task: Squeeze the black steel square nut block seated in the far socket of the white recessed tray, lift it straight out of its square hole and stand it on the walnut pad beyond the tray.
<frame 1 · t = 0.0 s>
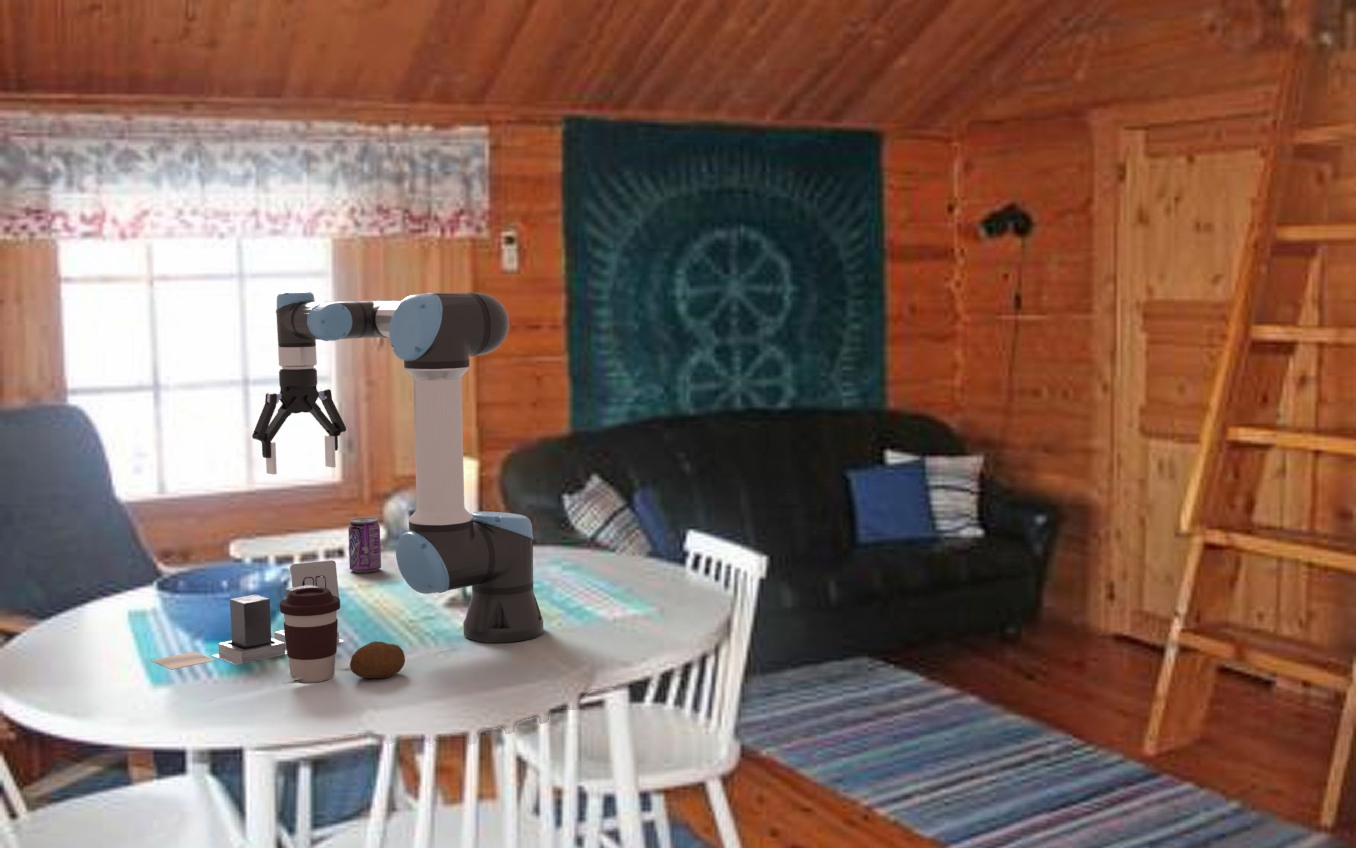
hand: (301, 470, 294), 28 cm above the table, fingers open, 13 cm apart
nut block: (252, 654, 254), point 1 cm above the table, touching white recessed tray
walnut pad: (183, 666, 250), on the table
electrical switch: (313, 606, 295), on the table
white recessed tray: (280, 653, 258), on the table
beverage can: (365, 571, 329), on the table
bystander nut: (306, 642, 262), point 1 cm above the table, touching white recessed tray
coffee cup: (312, 678, 243), on the table
potato: (379, 678, 243), on the table
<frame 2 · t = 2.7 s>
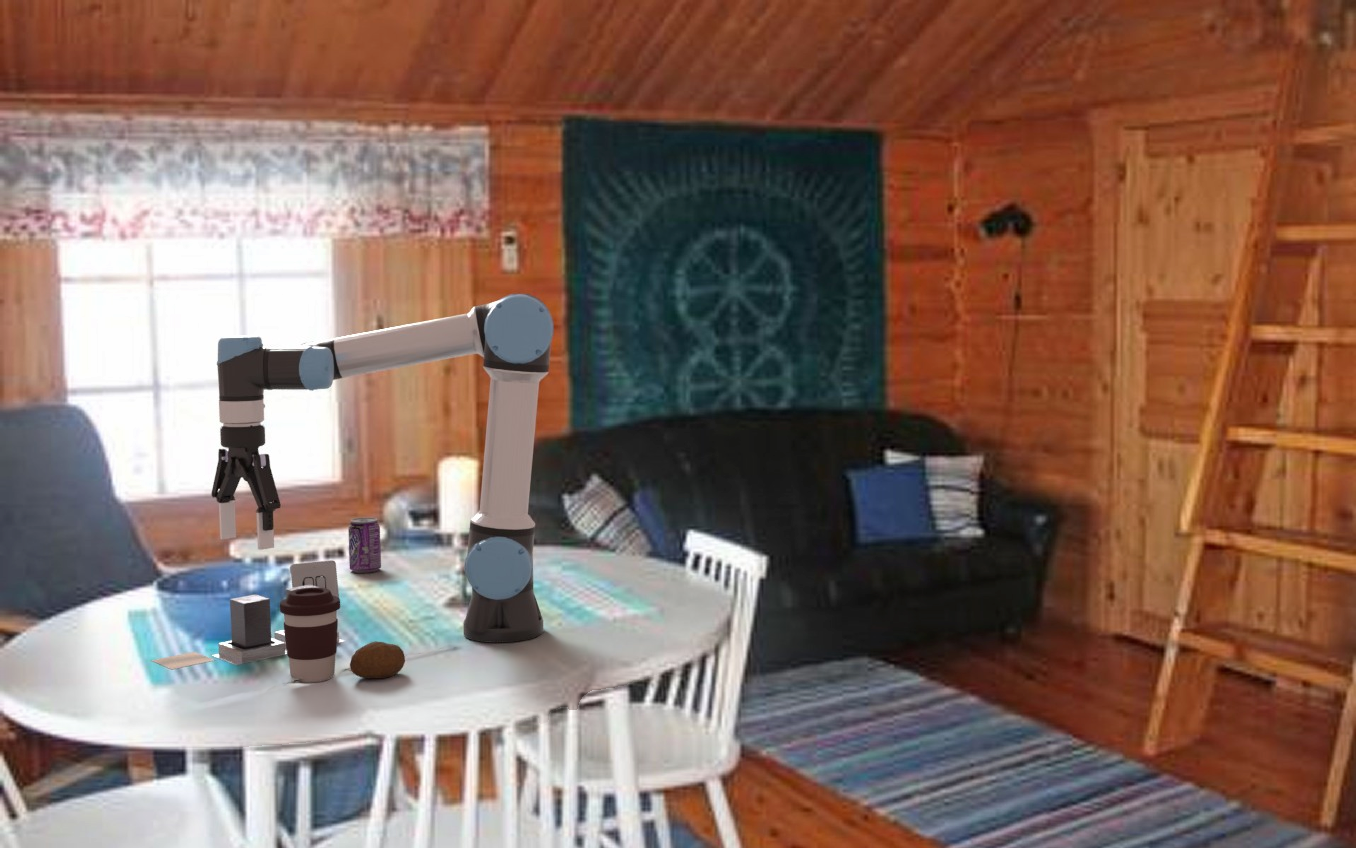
hand: (246, 543, 252), 21 cm above the table, fingers open, 13 cm apart
nothing on the table moved.
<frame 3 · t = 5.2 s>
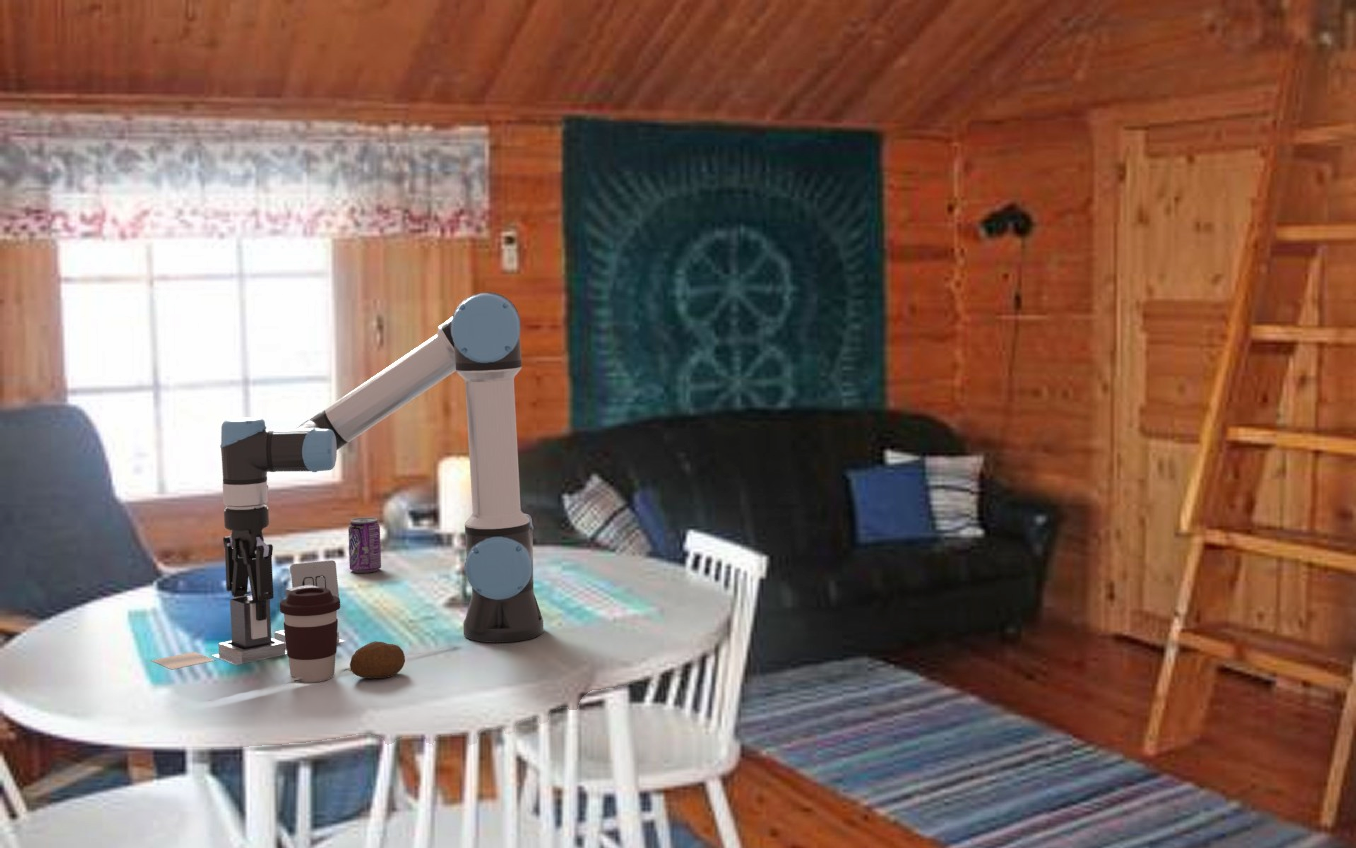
hand: (251, 634, 254), 5 cm above the table, fingers closed on nut block, 5 cm apart
nut block: (252, 654, 254), point 1 cm above the table, touching gripper, white recessed tray
everything else where it was.
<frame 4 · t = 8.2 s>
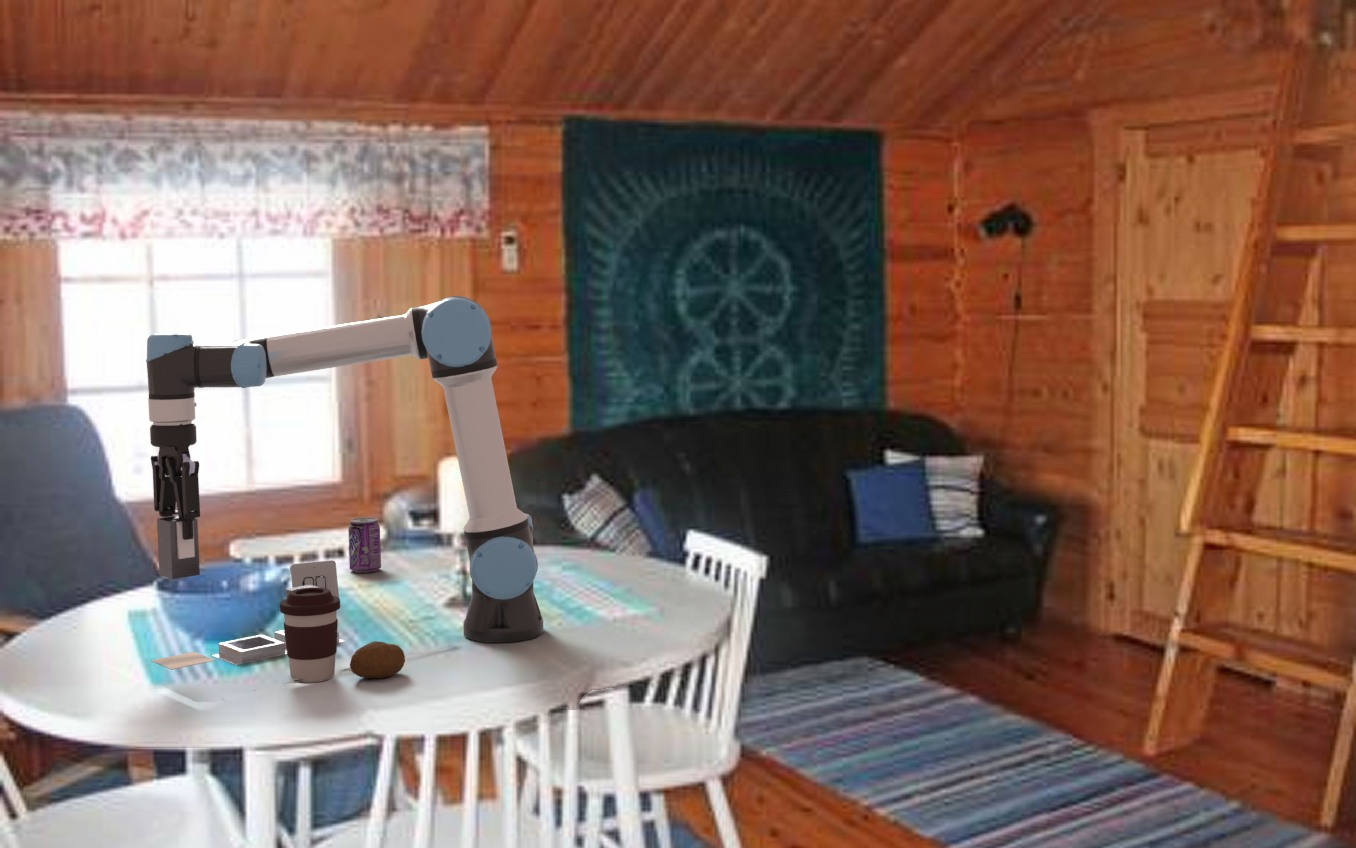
hand: (178, 555, 248), 20 cm above the table, fingers closed on nut block, 5 cm apart
nut block: (179, 574, 249), point 16 cm above the table, touching gripper
everything else where it was.
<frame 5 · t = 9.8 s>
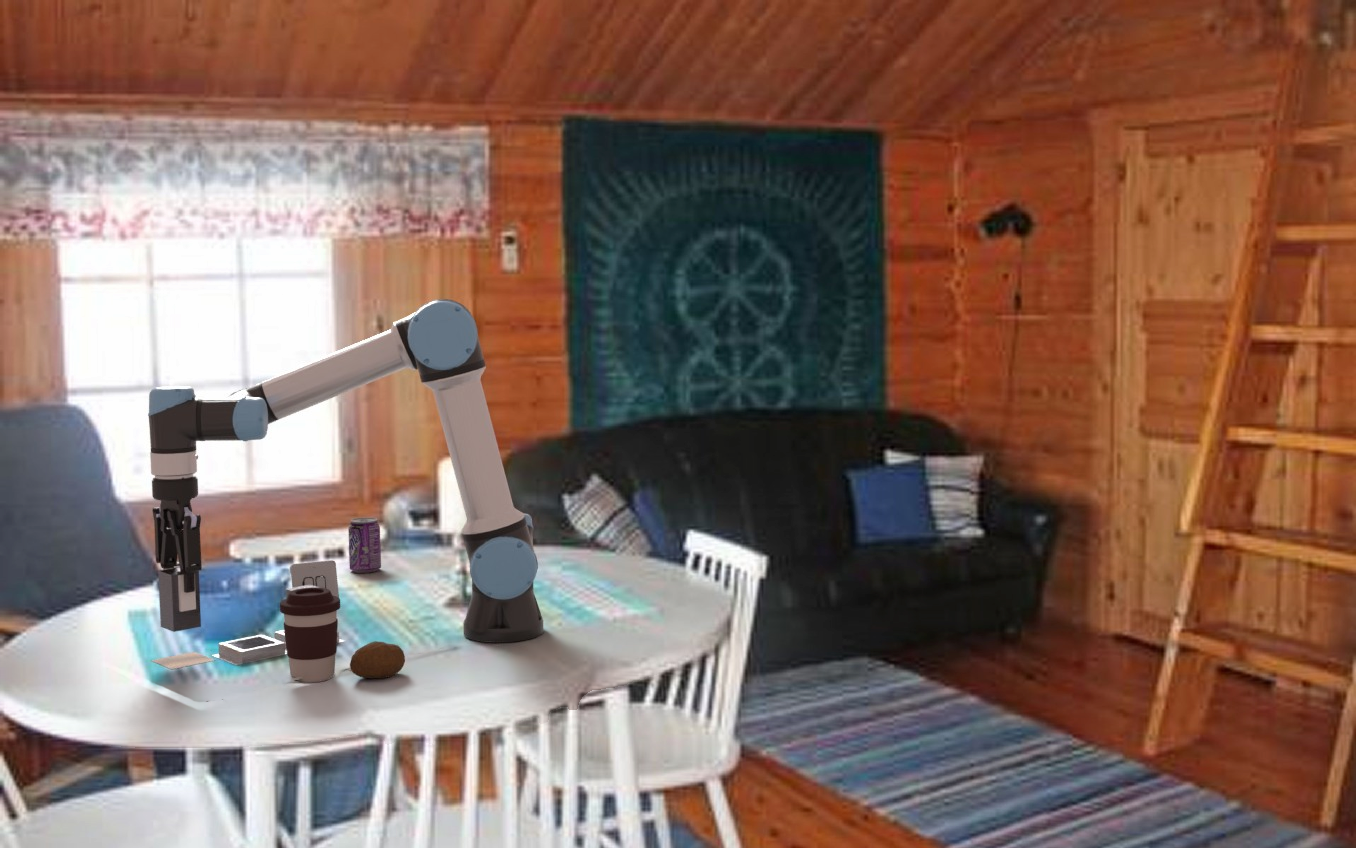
hand: (180, 607, 249), 11 cm above the table, fingers closed on nut block, 5 cm apart
nut block: (180, 626, 250), point 7 cm above the table, touching gripper
everything else where it was.
when the fingers open (6 cm above the table, at t = 11.3 s): nut block drops 2 cm, resting on walnut pad.
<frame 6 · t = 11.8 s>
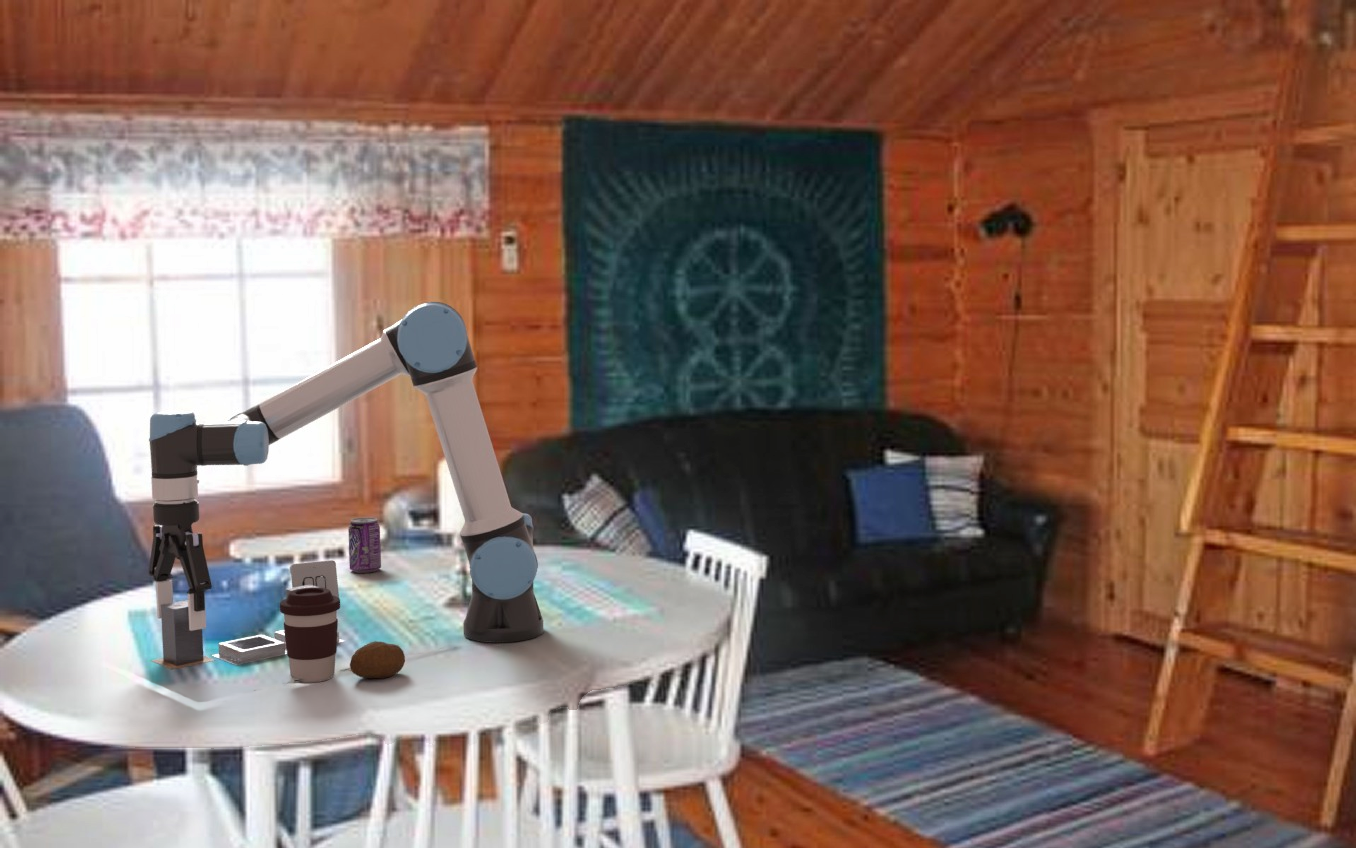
hand: (181, 623, 250), 8 cm above the table, fingers open, 11 cm apart
nut block: (183, 660, 250), point 1 cm above the table, touching walnut pad
everything else where it was.
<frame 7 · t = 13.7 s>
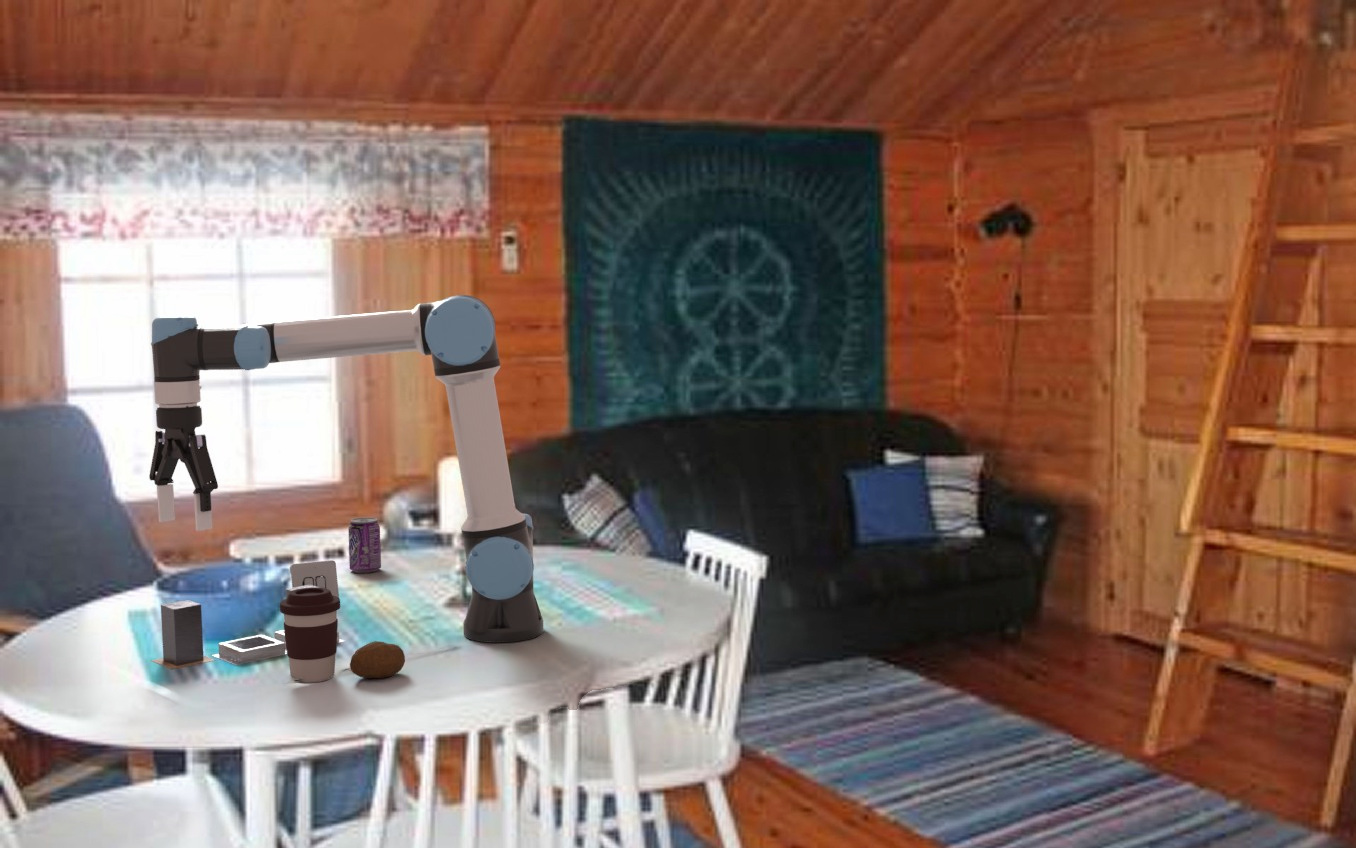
hand: (185, 525, 250), 25 cm above the table, fingers open, 13 cm apart
nothing on the table moved.
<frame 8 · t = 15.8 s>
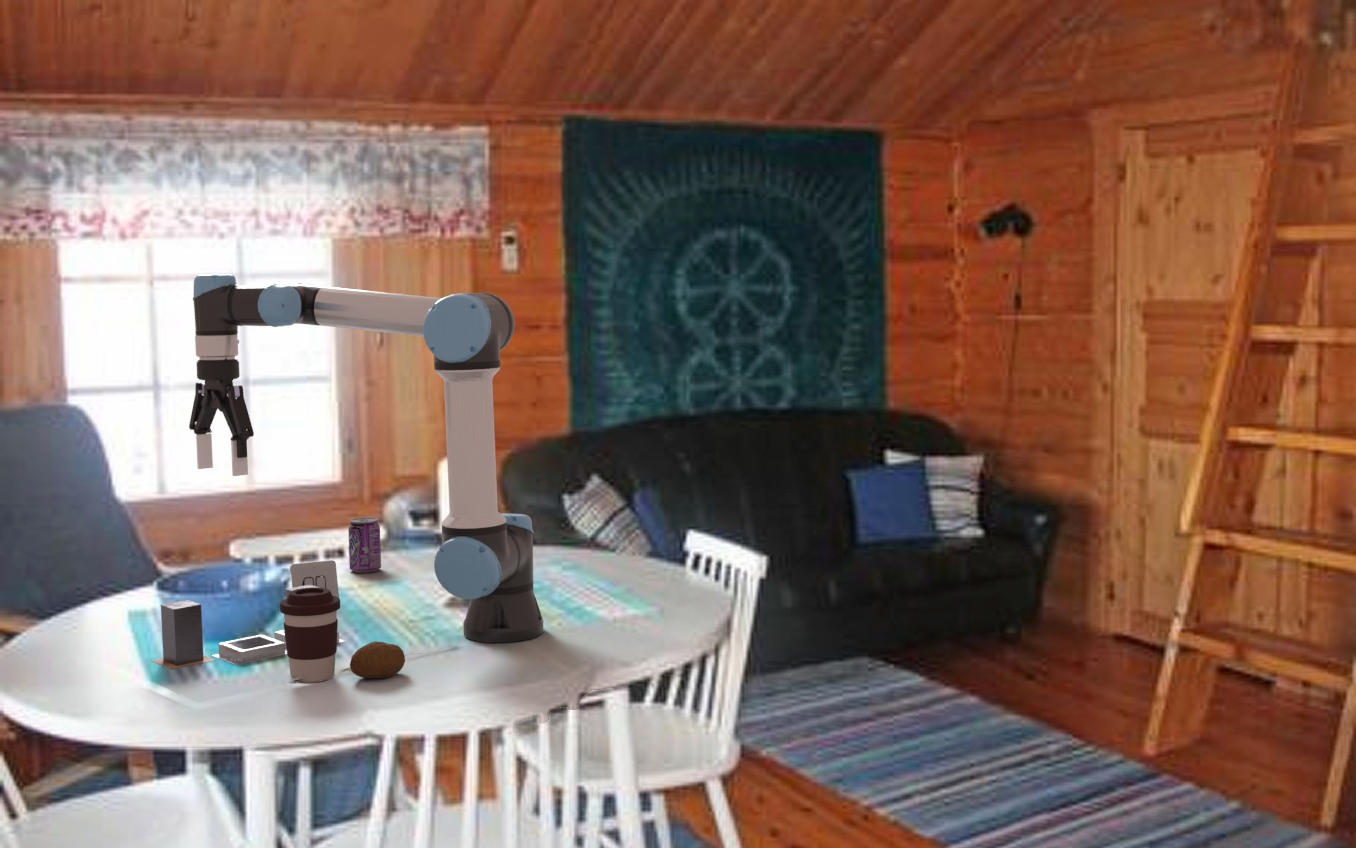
hand: (222, 471, 266), 32 cm above the table, fingers open, 13 cm apart
nothing on the table moved.
at the end: nut block inside the target area on the walnut pad (0.0 cm from its centre), point 1.0 cm above the walnut pad's base; nut block tilted 0°; nut block touching walnut pad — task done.
